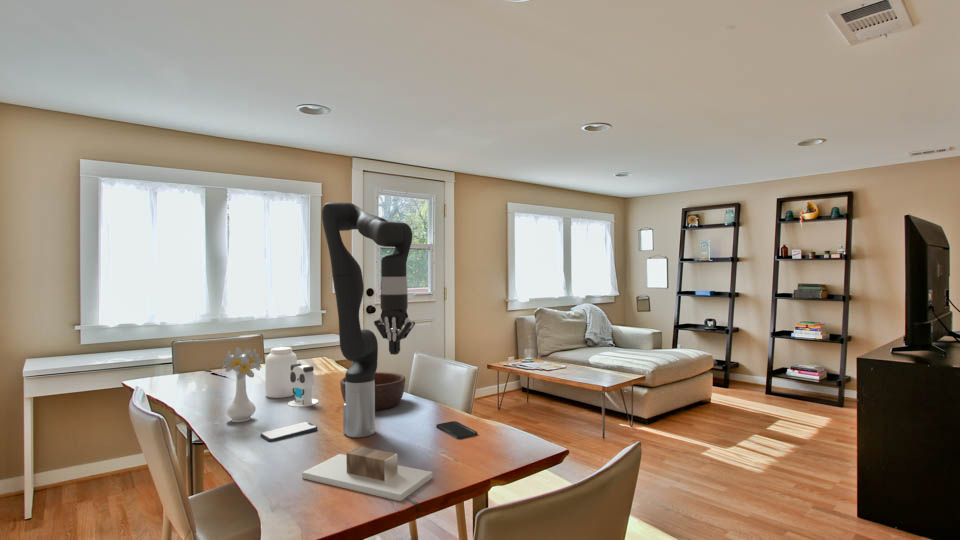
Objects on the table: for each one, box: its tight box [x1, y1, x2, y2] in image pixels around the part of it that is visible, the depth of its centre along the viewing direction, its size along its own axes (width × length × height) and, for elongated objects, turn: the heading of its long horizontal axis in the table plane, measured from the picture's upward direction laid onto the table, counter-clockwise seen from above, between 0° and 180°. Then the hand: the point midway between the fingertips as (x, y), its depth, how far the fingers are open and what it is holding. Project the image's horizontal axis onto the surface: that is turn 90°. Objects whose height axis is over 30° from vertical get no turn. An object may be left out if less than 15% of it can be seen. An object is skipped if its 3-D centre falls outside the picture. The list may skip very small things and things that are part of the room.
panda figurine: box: [287, 363, 319, 408], centre depth 199 cm, size 12×11×15 cm
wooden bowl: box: [339, 371, 406, 411], centre depth 196 cm, size 25×25×10 cm
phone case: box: [260, 421, 318, 443], centre depth 162 cm, size 9×2×16 cm
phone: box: [435, 420, 478, 440], centre depth 163 cm, size 8×1×15 cm
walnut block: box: [346, 446, 398, 481], centre depth 126 cm, size 5×5×12 cm
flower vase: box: [220, 347, 264, 423], centre depth 176 cm, size 13×18×25 cm
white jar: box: [264, 346, 298, 399], centre depth 212 cm, size 12×12×20 cm
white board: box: [301, 453, 433, 502], centre depth 127 cm, size 30×14×2 cm, turn 64°
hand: (394, 354), depth 141 cm, fingers closed
